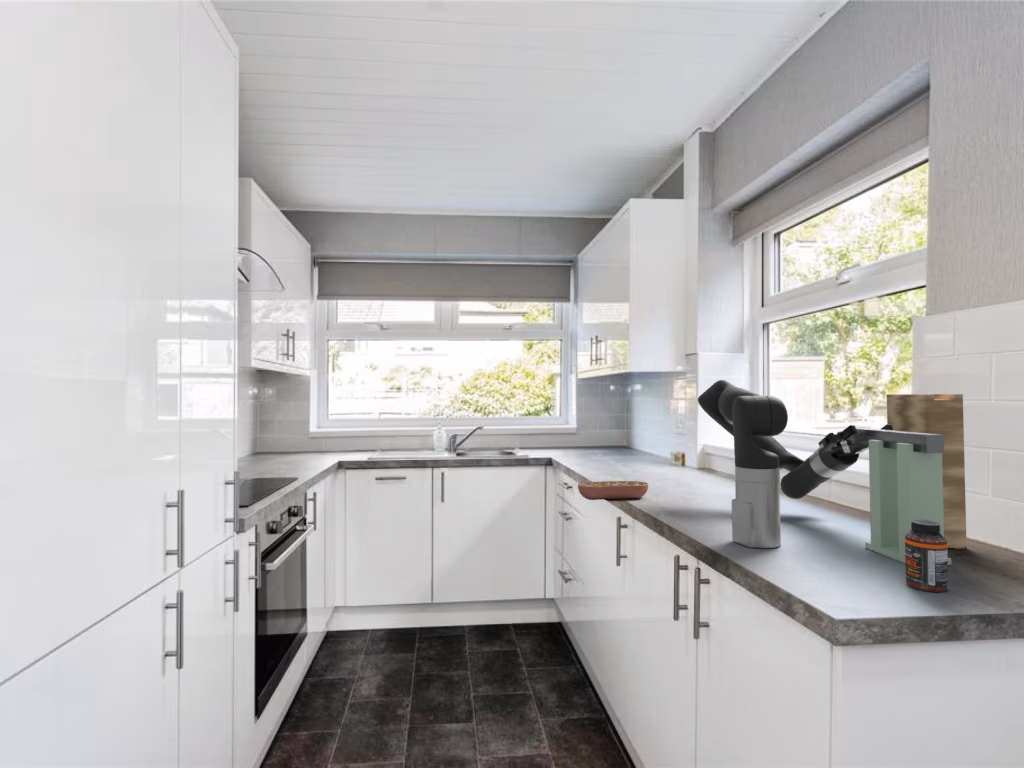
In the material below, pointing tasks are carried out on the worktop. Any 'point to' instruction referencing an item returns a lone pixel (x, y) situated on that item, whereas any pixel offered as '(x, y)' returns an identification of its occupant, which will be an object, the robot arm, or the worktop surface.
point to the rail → (901, 439)
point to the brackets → (902, 495)
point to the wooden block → (946, 420)
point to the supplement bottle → (926, 557)
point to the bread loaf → (612, 489)
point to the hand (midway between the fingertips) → (873, 428)
